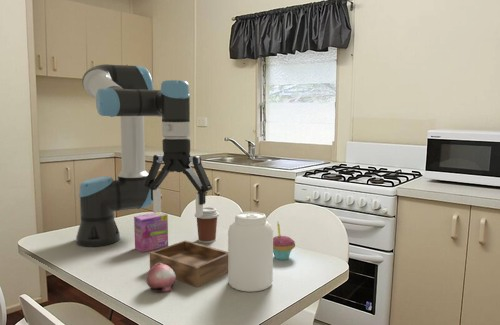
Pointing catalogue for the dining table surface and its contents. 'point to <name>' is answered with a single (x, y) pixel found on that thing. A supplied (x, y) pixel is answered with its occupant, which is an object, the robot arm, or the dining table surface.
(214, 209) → the coffee cup
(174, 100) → the robot arm
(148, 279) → the onion
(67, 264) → the dining table surface
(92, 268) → the dining table surface
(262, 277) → the white lidded jar
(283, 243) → the cupcake
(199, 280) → the wooden tray
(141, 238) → the box
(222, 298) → the dining table surface
